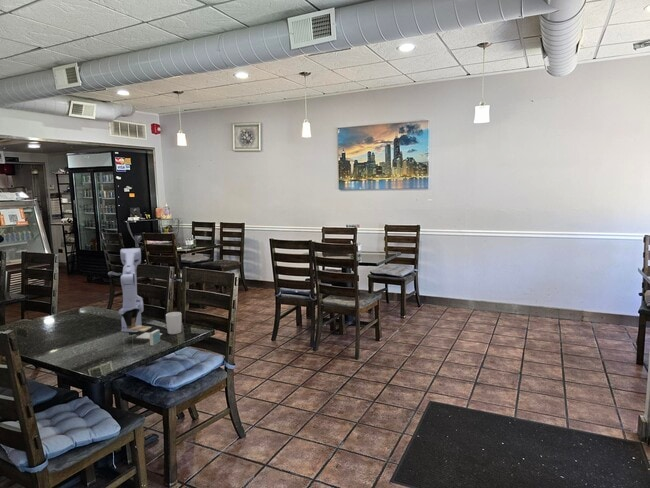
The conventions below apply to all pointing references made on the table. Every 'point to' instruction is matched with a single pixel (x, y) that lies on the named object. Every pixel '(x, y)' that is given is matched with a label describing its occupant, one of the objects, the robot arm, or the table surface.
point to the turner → (137, 326)
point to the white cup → (174, 322)
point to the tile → (154, 337)
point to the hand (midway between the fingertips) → (131, 324)
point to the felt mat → (145, 336)
